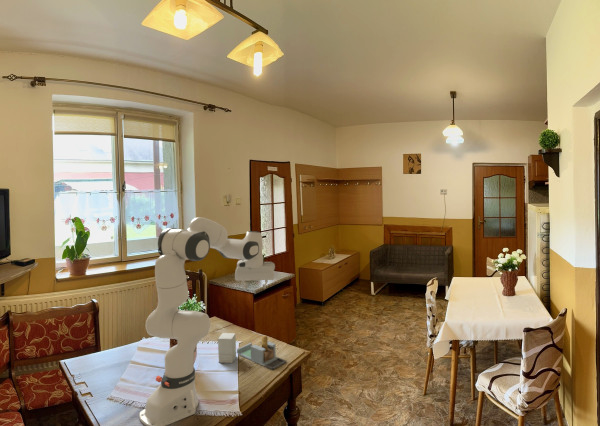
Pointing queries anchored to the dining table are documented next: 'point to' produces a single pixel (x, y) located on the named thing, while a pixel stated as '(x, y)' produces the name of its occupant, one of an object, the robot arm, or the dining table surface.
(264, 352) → the tan tall piece
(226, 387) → the dining table surface
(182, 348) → the robot arm
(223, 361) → the supplement box
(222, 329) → the dining table surface
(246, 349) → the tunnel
